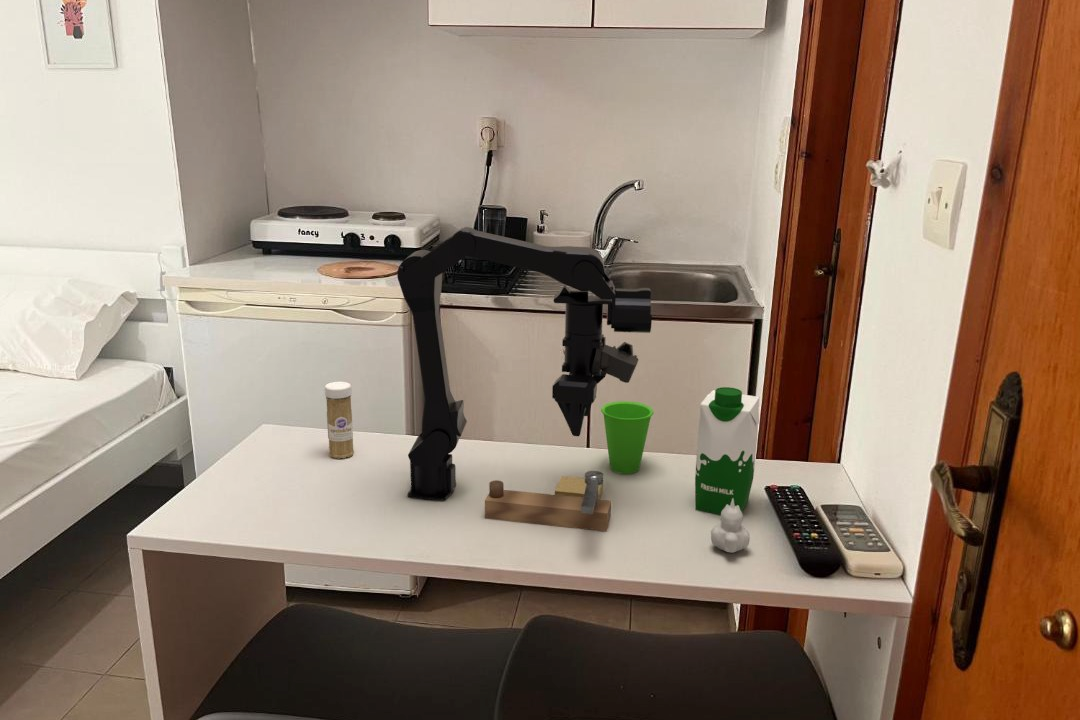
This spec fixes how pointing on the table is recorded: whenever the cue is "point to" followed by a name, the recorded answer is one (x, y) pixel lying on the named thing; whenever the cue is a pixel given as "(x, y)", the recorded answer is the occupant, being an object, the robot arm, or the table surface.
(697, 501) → the milk carton
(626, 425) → the cup
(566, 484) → the gold metal plate
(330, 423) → the sprinkles bottle
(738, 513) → the white toy figurine
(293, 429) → the table surface
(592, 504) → the lever
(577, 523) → the body
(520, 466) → the table surface
